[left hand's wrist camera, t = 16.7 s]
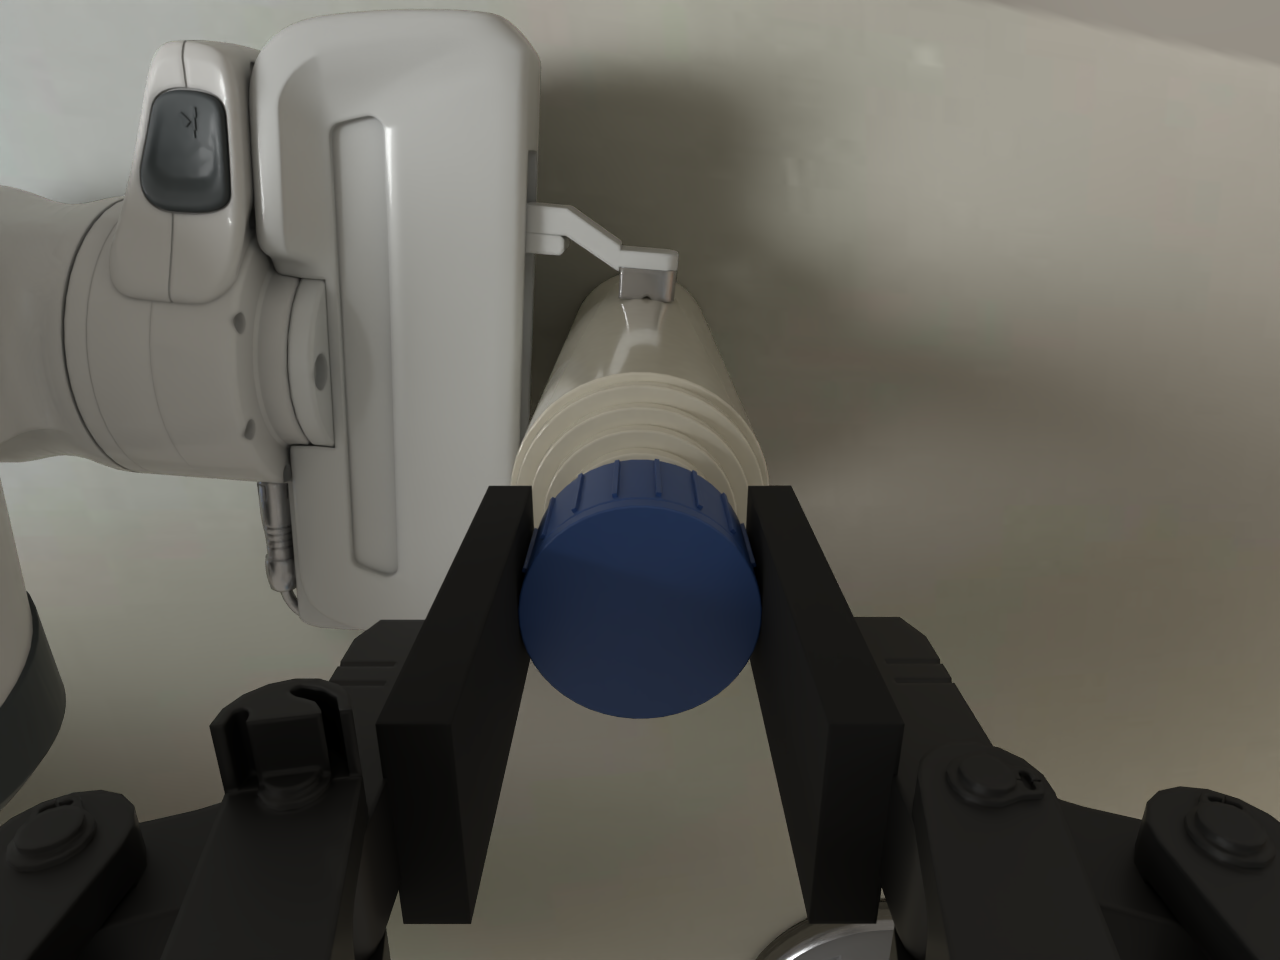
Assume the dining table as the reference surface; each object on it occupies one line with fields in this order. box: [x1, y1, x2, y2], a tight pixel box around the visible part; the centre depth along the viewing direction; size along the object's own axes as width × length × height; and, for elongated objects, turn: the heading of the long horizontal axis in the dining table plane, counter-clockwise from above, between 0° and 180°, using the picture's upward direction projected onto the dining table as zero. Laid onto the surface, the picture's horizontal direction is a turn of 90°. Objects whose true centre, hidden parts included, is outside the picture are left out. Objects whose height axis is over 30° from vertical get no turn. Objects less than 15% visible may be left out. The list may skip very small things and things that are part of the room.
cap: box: [518, 459, 762, 719], centre depth 14 cm, size 4×4×2 cm
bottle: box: [510, 275, 770, 529], centre depth 23 cm, size 6×6×21 cm
